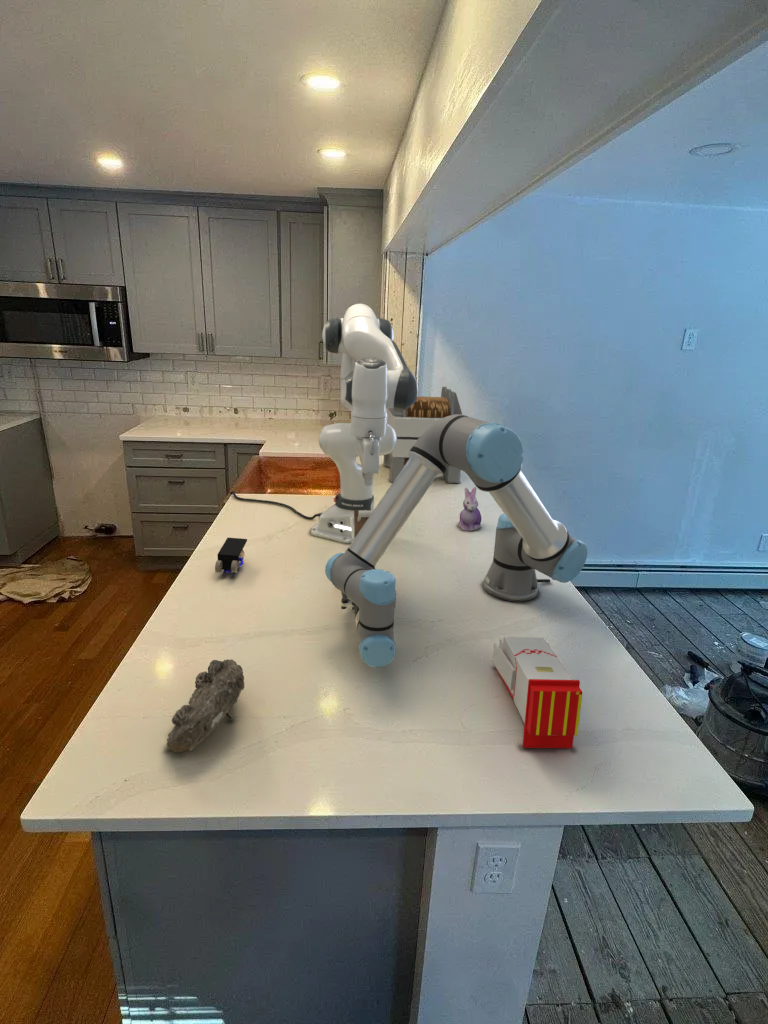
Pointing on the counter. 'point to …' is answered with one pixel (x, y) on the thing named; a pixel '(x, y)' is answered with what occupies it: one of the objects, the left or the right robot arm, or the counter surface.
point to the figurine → (470, 512)
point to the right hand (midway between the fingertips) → (363, 573)
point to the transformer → (419, 429)
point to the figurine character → (230, 556)
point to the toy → (539, 691)
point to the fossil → (206, 705)
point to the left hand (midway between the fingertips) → (366, 481)
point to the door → (360, 519)
